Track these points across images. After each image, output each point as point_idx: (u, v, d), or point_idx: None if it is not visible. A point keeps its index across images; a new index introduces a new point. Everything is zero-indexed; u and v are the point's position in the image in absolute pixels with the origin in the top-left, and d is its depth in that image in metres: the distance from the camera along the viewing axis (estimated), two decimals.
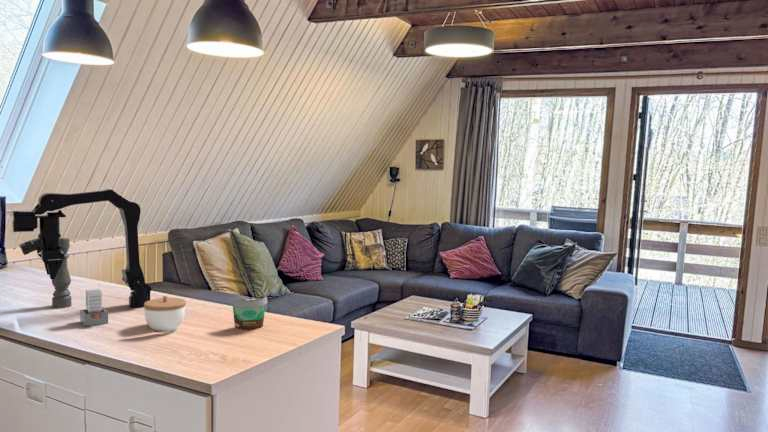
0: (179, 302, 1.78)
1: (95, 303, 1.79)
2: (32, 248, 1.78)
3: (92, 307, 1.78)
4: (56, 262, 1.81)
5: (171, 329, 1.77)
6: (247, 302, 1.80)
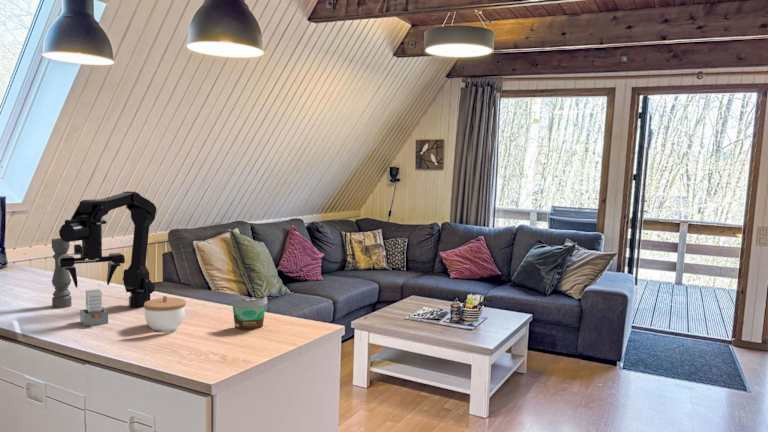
0: (179, 302, 1.78)
1: (95, 303, 1.79)
2: (74, 252, 1.81)
3: (92, 307, 1.78)
4: None
5: (171, 329, 1.77)
6: (247, 302, 1.80)
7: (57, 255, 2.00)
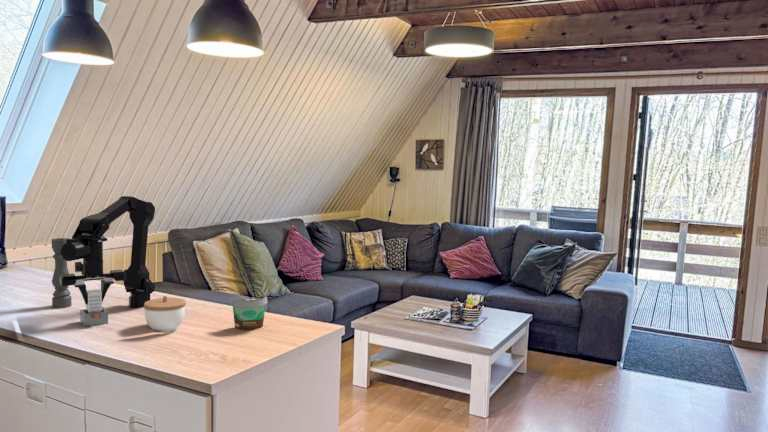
0: (179, 302, 1.78)
1: (95, 303, 1.79)
2: (75, 270, 1.81)
3: (92, 307, 1.78)
4: None
5: (171, 329, 1.77)
6: (247, 302, 1.80)
7: (57, 255, 2.00)
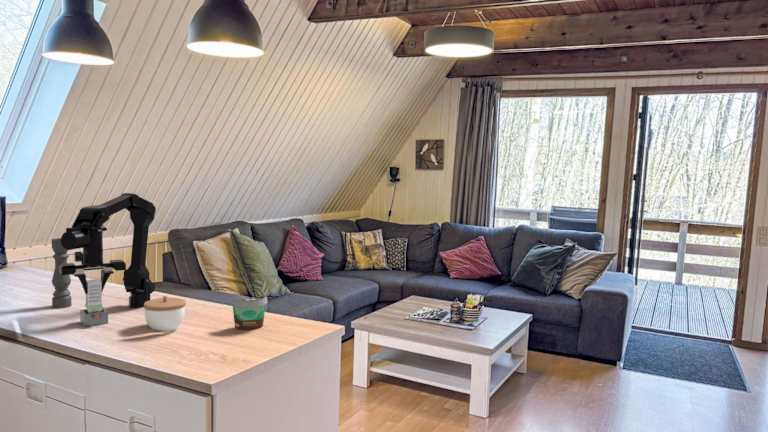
0: (179, 302, 1.78)
1: (95, 293, 1.78)
2: (75, 259, 1.81)
3: (92, 297, 1.78)
4: None
5: (171, 329, 1.77)
6: (247, 302, 1.80)
7: (57, 255, 2.00)
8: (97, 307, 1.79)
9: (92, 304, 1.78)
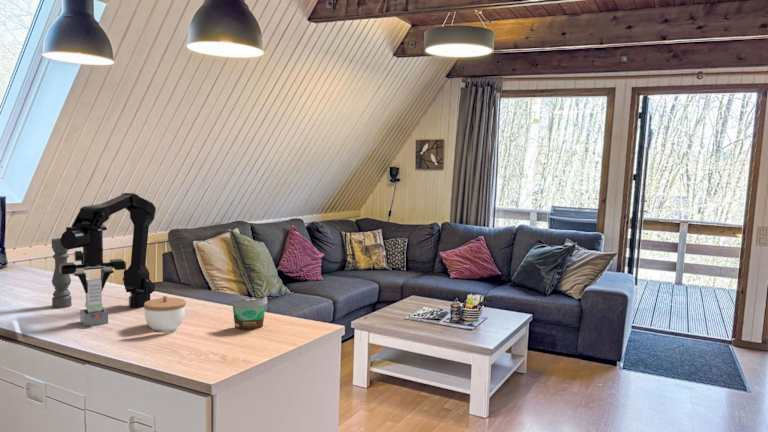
0: (179, 302, 1.78)
1: (95, 292, 1.78)
2: (75, 259, 1.81)
3: (92, 296, 1.78)
4: None
5: (171, 329, 1.77)
6: (247, 302, 1.80)
7: (57, 255, 2.00)
8: (97, 306, 1.79)
9: (92, 303, 1.78)
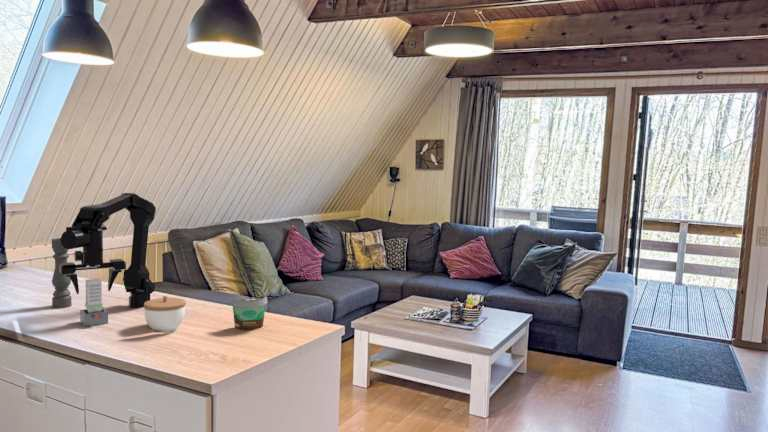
0: (179, 302, 1.78)
1: (95, 292, 1.78)
2: (75, 258, 1.81)
3: (92, 296, 1.78)
4: None
5: (171, 329, 1.77)
6: (247, 302, 1.80)
7: (57, 255, 2.00)
8: (97, 306, 1.79)
9: (92, 303, 1.78)
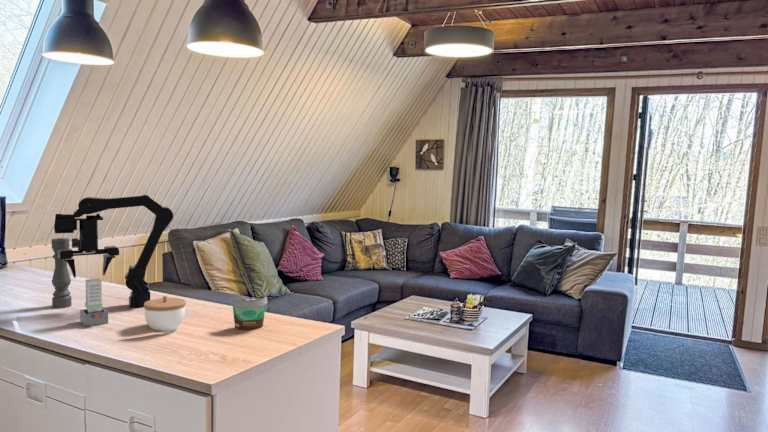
0: (179, 302, 1.78)
1: (95, 292, 1.78)
2: (72, 245, 1.97)
3: (92, 296, 1.78)
4: None
5: (171, 329, 1.77)
6: (247, 302, 1.80)
7: (57, 255, 2.00)
8: (97, 306, 1.79)
9: (92, 303, 1.78)
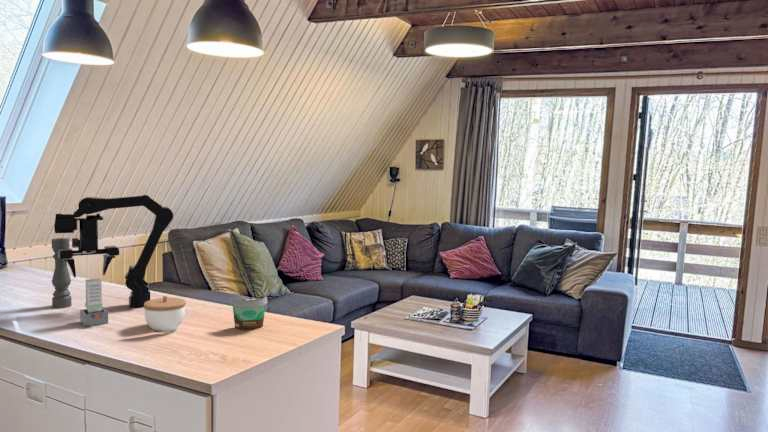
0: (179, 302, 1.78)
1: (95, 292, 1.78)
2: (72, 245, 1.97)
3: (92, 296, 1.78)
4: None
5: (171, 329, 1.77)
6: (247, 302, 1.80)
7: (57, 255, 2.00)
8: (97, 306, 1.79)
9: (92, 303, 1.78)
